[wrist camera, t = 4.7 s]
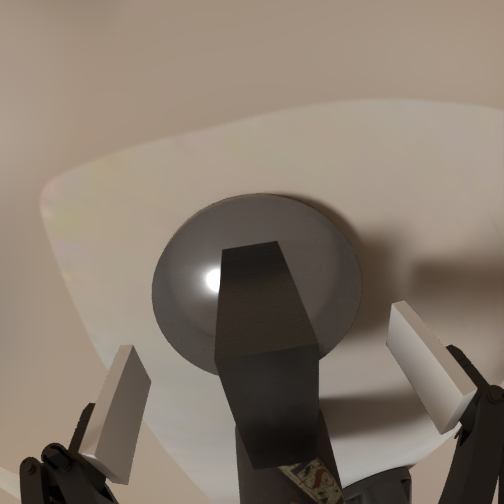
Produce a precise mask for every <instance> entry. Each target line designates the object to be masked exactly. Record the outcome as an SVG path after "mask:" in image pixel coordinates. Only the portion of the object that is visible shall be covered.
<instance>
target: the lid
mask: <svg viewBox="0 0 504 504" xmlns="http://www.w3.org/2000/svg"><path fill="white" fill-rule="evenodd" d="M361 292H362V276H361V271H360V265H359V262H358V259H357V256H356V254H355V252H354V250H353V248H352V246H351V244H350V242H349V241H348V240H347V238H346V237H345V236H344V234H343V233H342V232H341V231H340V230H339V229H338V228H337V227H336V226H335V225H334V224H333V223H332V222H331V221H330V220H329V219H328V218H326V217H325V216H324V215H323V214H321V213H320V212H319V211H317V210H316V209H314V208H313V207H311V206H309V205H307V204H305V203H303V202H301V201H298V200H295V199H292V198H289V197H285V196H280V195H274V194H258V193H256V194H245V195H239V196H234V197H230V198H226V199H223V200H221V201H218V202H216V203H213V204H211V205H209V206H207V207H205V208H204V209H202V210H200V211H199V212H197V213H196V214H194V215H193V216H192V217H190V218H189V219H188V220H187V221H186V222H185V223H184V224H183V225H182V226H181V227H180V228H179V229H178V230H177V231H176V233H175V234H174V235H173V237H172V238H171V239H170V241H169V242H168V244H167V246H166V248H165V249H164V251H163V253H162V255H161V257H160V259H159V261H158V264H157V266H156V269H155V272H154V277H153V283H152V303H153V310H154V314H155V317H156V320H157V323H158V325H159V327H160V329H161V331H162V333H163V335H164V336H165V338H166V339H167V341H168V342H169V343H170V344H171V346H172V347H173V348H174V349H175V350H176V351H177V352H178V353H179V354H180V355H181V356H182V357H184V358H185V359H186V360H188V361H189V362H191V363H192V364H193V365H195V366H197V367H199V368H201V369H203V370H205V371H207V372H210V373H212V374H215V375H218V376H219V377H220V380H221V383H222V386H223V389H224V391H225V394H226V397H227V400H228V403H229V406H230V409H231V412H232V414H233V417H234V420H235V423H236V425H237V428H238V431H239V433H240V436H241V439H242V441H243V444H244V446H245V449H246V452H247V454H248V457H249V459H250V462H251V464H252V467H253V469H254V470H257V469H265V468H273V467H280V466H286V465H292V464H298V463H303V462H308V461H313V460H316V453H317V432H318V398H319V360H320V359H322V358H323V357H324V356H326V355H327V354H328V353H329V352H330V351H331V350H333V349H334V348H335V347H336V345H337V344H338V343H339V342H340V341H341V340H342V339H343V337H344V336H345V335H346V333H347V332H348V330H349V328H350V327H351V325H352V323H353V321H354V319H355V316H356V314H357V311H358V308H359V304H360V300H361Z"/></svg>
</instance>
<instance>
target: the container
mask: <svg viewBox="0 0 504 504" xmlns="http://www.w3.org/2000/svg"><path fill="white" fill-rule="evenodd" d="M235 436H236V454H237V468H238V480H239V493H240V504H346V502H345V498H344V494H343V490H342V486H341V482H340V478H339V474H338V470H337V466H336V462H335V458H334V454H333V450H332V446H331V442H330V438H329V435H328V431H327V427H326V424H325V421H324V417H323V414H322V412H321V410H320V409H319V408H318V432H317V453H316V460H313V461H308V462H303V463H298V464H292V465H286V466H280V467H273V468H265V469H257V470H254V469H253V467H252V464H251V462H250V459H249V457H248V454H247V452H246V449H245V446H244V444H243V441H242V439H241V436H240V433H239V431H238V428H237V425H236V427H235Z"/></svg>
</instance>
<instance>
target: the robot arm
mask: <svg viewBox="0 0 504 504" xmlns="http://www.w3.org/2000/svg"><path fill="white" fill-rule="evenodd" d="M386 345H387V347H388V348H389V350H390V351H391V353H392V354H393V356H394V357H395V359H396V361H397V362H398V364H399V365H400V367H401V369H402V370H403V372H404V373H405V375H406V377H407V378H408V380H409V382H410V383H411V385H412V386H413V388H414V390H415V391H416V393H417V395H418V396H419V398H420V400H421V401H422V403H423V405H424V407H425V408H426V410H427V412H428V414H429V415H430V417H431V419H432V421H433V422H434V424H435V426H436V428H437V429H438V431H439V433H440V435H442V434H444V433H446V432H448V431H450V430H452V429H453V428H455V426H456V425H457V423H458V422H459V421H460V423H461V424H462V426H461V428H460V429H459V431H458V432H457V434H456V435H455V437H454V439H456V438H457V437H458V435H459V437H458V441H457V445H456V450H455V453H454V457H453V461H452V464H451V468H450V471H449V474H448V477H447V480H446V483H445V486H444V489H443V492H442V495H441V497H440V500H439V503H438V504H492V500H493V496H494V492H495V488H496V484H497V480H498V475H499V492H498V504H504V389H502V388H501V387H500V386H497V385H489V384H488V383H487V381H486V380H485V379H484V378H483V376H482V375H481V374H480V373H479V371H478V370H477V369H476V368H475V367H474V365H473V364H471V362H470V360H469V359H468V358H466V356H465V354H464V353H463V352H462V351H461V350H460V349H459V348H457V347H455V346H453V345H452V344H451V345H449V346H447V347H445V346H444V345H443V344H442V343H441V342H440V340H439V339H438V338H437V337H436V336H435V334H434V333H433V332H432V331H431V330H430V329H429V327H428V326H427V325H426V324H425V323H424V322H423V321H422V319H421V318H420V317H419V316H418V315H417V314H416V313H415V311H414V310H413V309H412V308H411V307H410V306H409V305H408V304H407V303H406V301H405V300H403V301H399V302H395V303H392V306H391V314H390V322H389V328H388V335H387V341H386ZM150 385H151V380H150V378H149V376H148V374H147V372H146V370H145V368H144V367H143V365H142V363H141V361H140V359H139V356H138V354H137V352H136V350H135V348H134V346H133V345H122V346H120V347H119V349H118V352H117V354H116V356H115V358H114V361H113V363H112V365H111V368H110V370H109V372H108V375H107V377H106V380H105V382H104V384H103V387H102V389H101V392H100V394H99V397H98V399H97V402H96V403H89V404H88V405H87V407H86V408H85V409H84V410H83V412H82V414H81V417H80V419H79V420H80V421H79V422H78V424H77V428H76V429H75V432H74V435H73V437H72V440H71V443H70V445H69V449H68V450H67V449H66V448H65V447H64V446H63V445H61V444H59V443H51V444H49V445H47V446H46V447H45V449H44V450H43V451H42V454H41V460H42V461H43V462H44V463H40V462H39V461H38V460H37V459H36V458H34V457H28V458H26V459H24V460H23V461H22V463H21V465H20V491H21V502H22V504H119V503H118V502H117V500H116V499H115V497H114V495H113V494H112V492H111V490H110V489H109V487H108V486H107V484H106V483H105V481H106V478H108V479H109V480H110V481H112V482H113V483H118V484H124V485H128V482H129V477H130V471H131V466H132V462H133V457H134V452H135V448H136V443H137V438H138V433H139V430H140V425H141V421H142V417H143V413H144V409H145V405H146V401H147V397H148V393H149V389H150ZM411 485H412V482H411V476H410V473H409V471H408V469H407V468H397V469H393V470H389V471H386V472H383V473H380V474H377V475H374V476H371V477H369V478H366V479H364V480H361V481H359V482H357V483H355V484H352V485H350V486H348V487H346V488H345V489H343V494H344V498H345V502H346V504H412V503H411V499H412V498H411V497H412V495H411V494H412V486H411Z"/></svg>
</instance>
